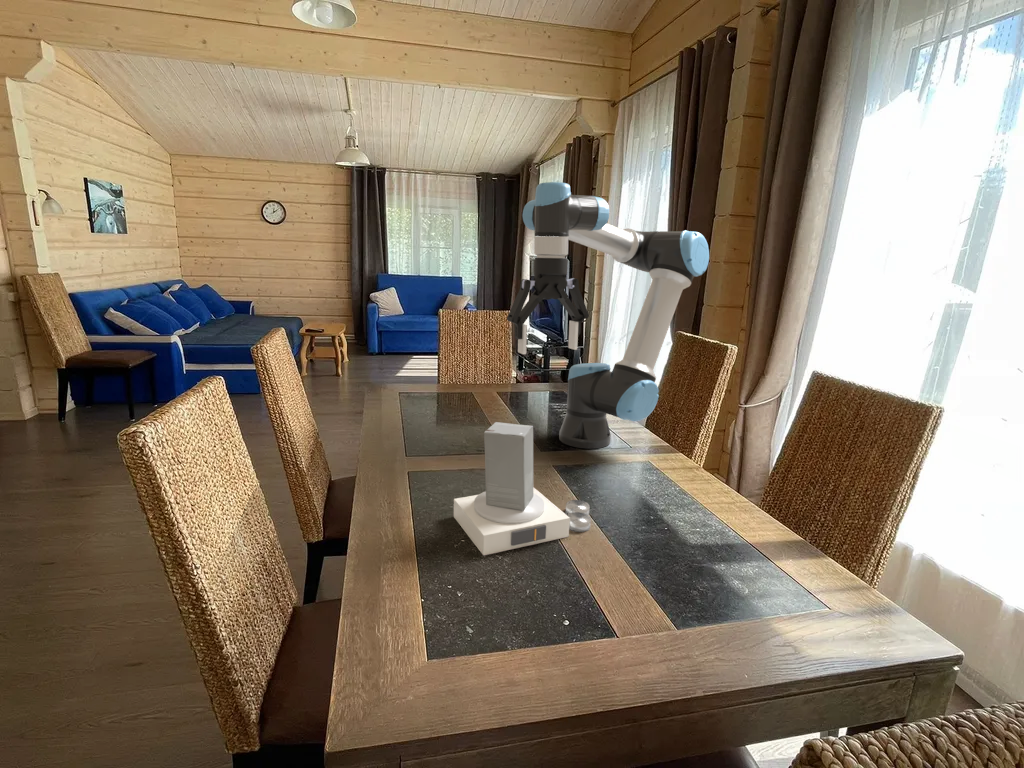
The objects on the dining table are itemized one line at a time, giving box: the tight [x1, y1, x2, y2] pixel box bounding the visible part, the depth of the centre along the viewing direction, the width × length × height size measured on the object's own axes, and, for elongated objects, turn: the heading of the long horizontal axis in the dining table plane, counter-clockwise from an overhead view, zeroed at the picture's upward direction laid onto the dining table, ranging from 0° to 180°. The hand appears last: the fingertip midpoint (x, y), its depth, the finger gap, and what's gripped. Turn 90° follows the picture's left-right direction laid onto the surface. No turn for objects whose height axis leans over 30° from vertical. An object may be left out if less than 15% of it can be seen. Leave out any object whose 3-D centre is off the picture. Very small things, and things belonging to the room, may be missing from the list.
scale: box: [453, 486, 570, 556], centre depth 109 cm, size 18×17×5 cm
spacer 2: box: [566, 512, 592, 533], centre depth 110 cm, size 5×5×2 cm
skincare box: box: [483, 421, 534, 510], centre depth 107 cm, size 8×7×16 cm
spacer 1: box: [565, 499, 591, 516], centre depth 116 cm, size 5×5×2 cm
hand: (547, 351), depth 126 cm, fingers open, 13 cm apart
